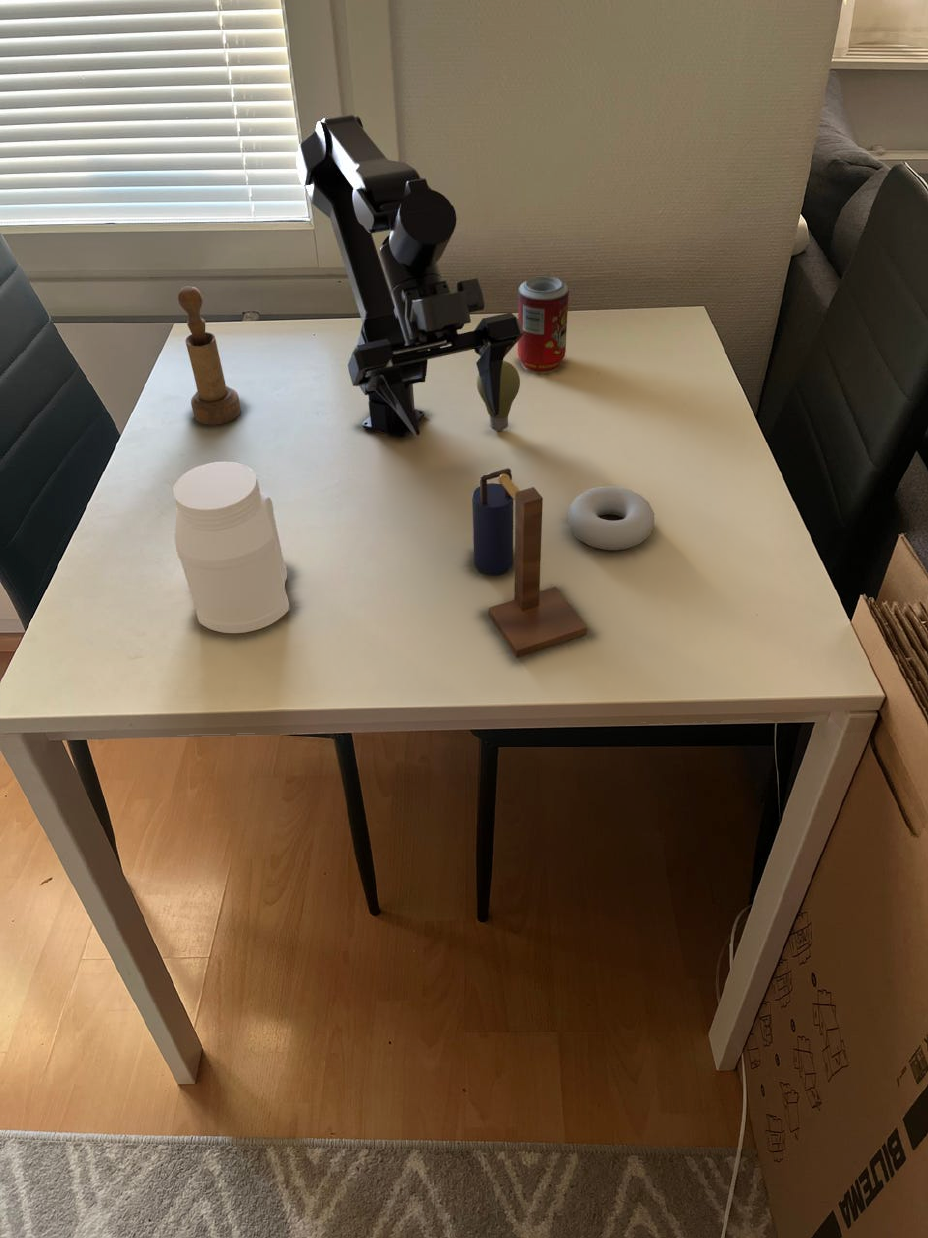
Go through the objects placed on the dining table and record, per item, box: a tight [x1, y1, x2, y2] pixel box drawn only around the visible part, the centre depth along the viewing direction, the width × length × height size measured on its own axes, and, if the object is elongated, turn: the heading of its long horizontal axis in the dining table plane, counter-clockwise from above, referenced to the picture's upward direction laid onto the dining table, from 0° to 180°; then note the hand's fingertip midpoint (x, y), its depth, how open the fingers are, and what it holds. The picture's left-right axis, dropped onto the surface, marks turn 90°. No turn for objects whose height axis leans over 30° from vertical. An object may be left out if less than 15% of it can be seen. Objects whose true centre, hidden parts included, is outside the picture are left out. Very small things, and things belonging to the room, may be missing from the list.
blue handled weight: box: [471, 467, 515, 576], centre depth 100 cm, size 4×4×13 cm
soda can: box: [517, 275, 570, 374], centre depth 133 cm, size 7×7×12 cm
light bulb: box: [476, 359, 521, 433], centre depth 121 cm, size 6×6×10 cm
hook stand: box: [488, 474, 588, 658], centre depth 93 cm, size 12×8×15 cm, turn 23°
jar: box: [172, 461, 290, 634], centre depth 96 cm, size 12×10×15 cm
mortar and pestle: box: [177, 285, 242, 426], centre depth 123 cm, size 7×6×18 cm
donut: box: [567, 485, 655, 551], centre depth 107 cm, size 10×4×10 cm
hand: (457, 425), depth 100 cm, fingers open, 9 cm apart
